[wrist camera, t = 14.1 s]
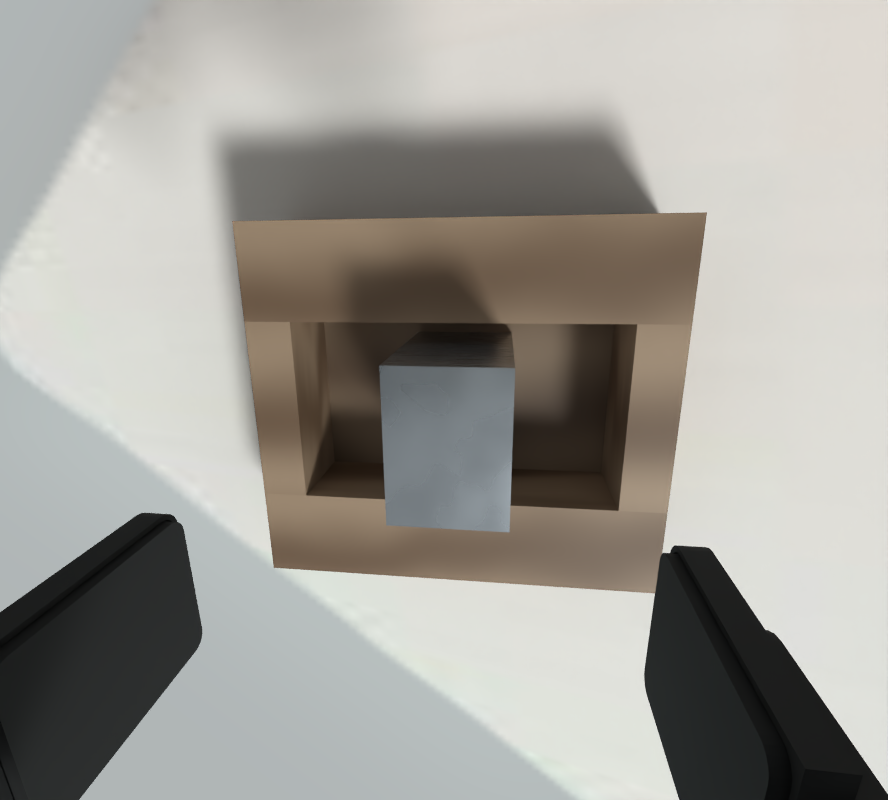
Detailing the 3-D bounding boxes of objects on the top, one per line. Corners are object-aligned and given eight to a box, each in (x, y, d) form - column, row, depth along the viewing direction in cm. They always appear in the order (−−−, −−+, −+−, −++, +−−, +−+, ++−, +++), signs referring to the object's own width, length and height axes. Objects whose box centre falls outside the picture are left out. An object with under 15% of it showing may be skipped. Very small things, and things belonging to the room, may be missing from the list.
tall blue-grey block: (419, 331, 24) (379, 365, 16) (511, 332, 23) (515, 368, 16) (421, 446, 26) (386, 525, 18) (508, 449, 25) (509, 532, 18)
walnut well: (285, 228, 24) (232, 221, 20) (663, 222, 22) (707, 212, 18) (312, 516, 29) (273, 567, 24) (629, 533, 27) (656, 593, 22)
